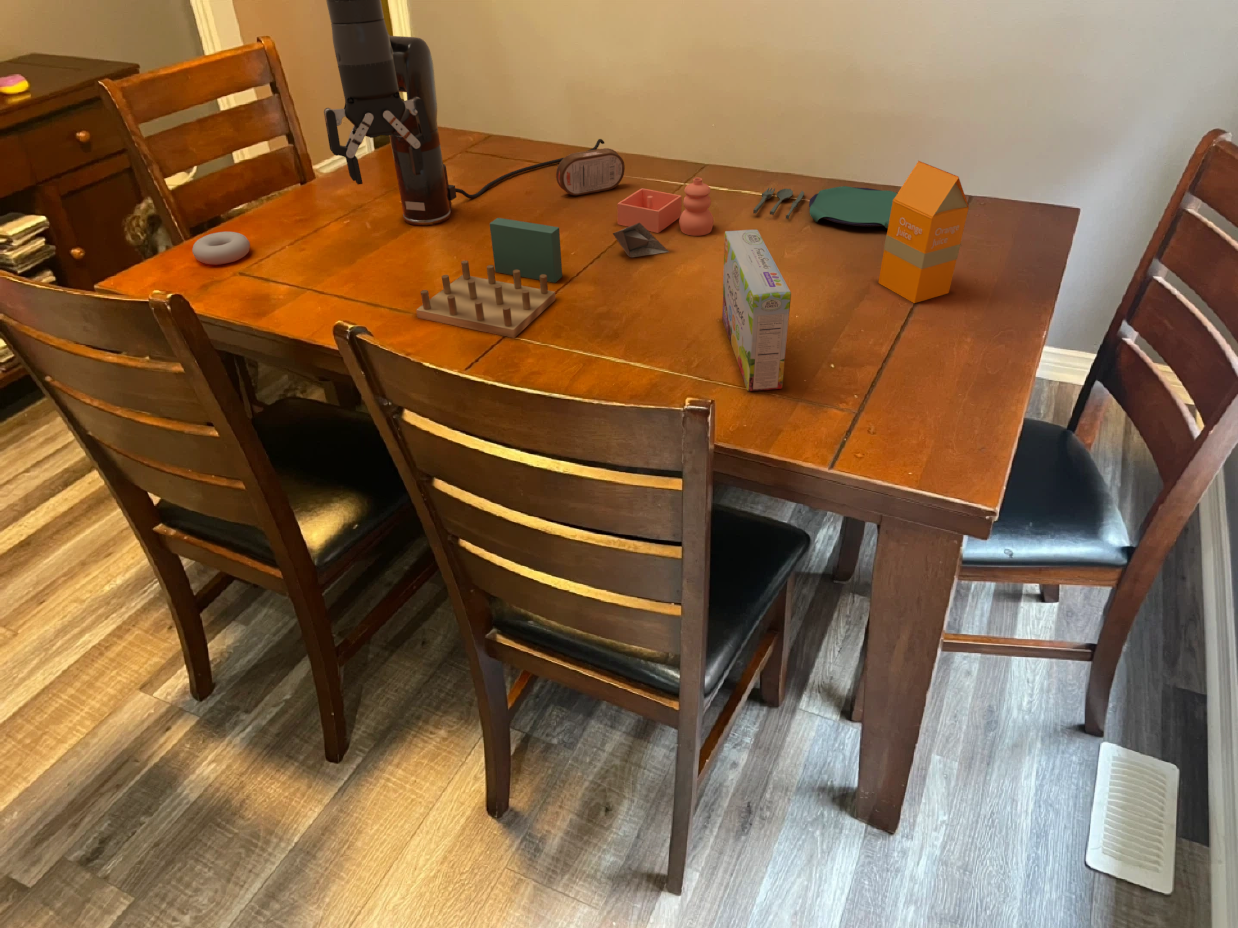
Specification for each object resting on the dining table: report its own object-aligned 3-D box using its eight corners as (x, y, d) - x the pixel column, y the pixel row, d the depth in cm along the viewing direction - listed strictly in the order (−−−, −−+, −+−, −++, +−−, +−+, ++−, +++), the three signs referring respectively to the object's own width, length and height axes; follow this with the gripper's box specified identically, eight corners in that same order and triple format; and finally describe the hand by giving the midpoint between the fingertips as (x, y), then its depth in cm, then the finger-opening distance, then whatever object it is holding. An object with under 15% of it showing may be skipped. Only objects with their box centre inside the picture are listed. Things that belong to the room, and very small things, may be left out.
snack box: (718, 320, 135) (723, 229, 126) (753, 318, 136) (760, 227, 127) (745, 393, 119) (753, 293, 110) (784, 390, 119) (796, 291, 110)
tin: (620, 183, 186) (619, 143, 181) (627, 187, 184) (626, 148, 179) (556, 195, 181) (554, 155, 176) (562, 200, 179) (559, 159, 174)
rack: (463, 282, 148) (460, 258, 146) (555, 299, 142) (554, 274, 140) (417, 317, 138) (412, 292, 136) (514, 338, 132) (511, 311, 130)
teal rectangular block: (503, 265, 154) (497, 217, 148) (562, 276, 150) (559, 227, 144) (495, 272, 152) (489, 223, 146) (555, 283, 148) (551, 233, 142)
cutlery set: (904, 239, 159) (906, 227, 158) (747, 220, 168) (747, 208, 167) (916, 202, 174) (918, 191, 172) (770, 186, 183) (771, 175, 181)
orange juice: (913, 303, 139) (939, 181, 127) (877, 282, 145) (898, 164, 133) (949, 292, 141) (978, 172, 129) (912, 272, 148) (936, 155, 136)
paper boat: (650, 232, 161) (685, 233, 154) (642, 266, 162) (676, 268, 155) (603, 211, 153) (638, 211, 146) (595, 247, 153) (629, 248, 147)
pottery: (617, 224, 168) (616, 174, 162) (641, 208, 174) (641, 159, 168) (700, 241, 160) (702, 190, 154) (721, 224, 167) (724, 174, 161)
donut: (184, 266, 156) (233, 269, 155) (178, 248, 154) (227, 251, 153) (215, 244, 164) (262, 246, 162) (209, 227, 162) (257, 229, 160)
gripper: (410, 49, 122) (429, 166, 131) (308, 60, 118) (335, 180, 127) (422, 55, 116) (441, 176, 125) (315, 66, 112) (343, 192, 121)
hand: (388, 178), depth 126 cm, fingers open, 8 cm apart
